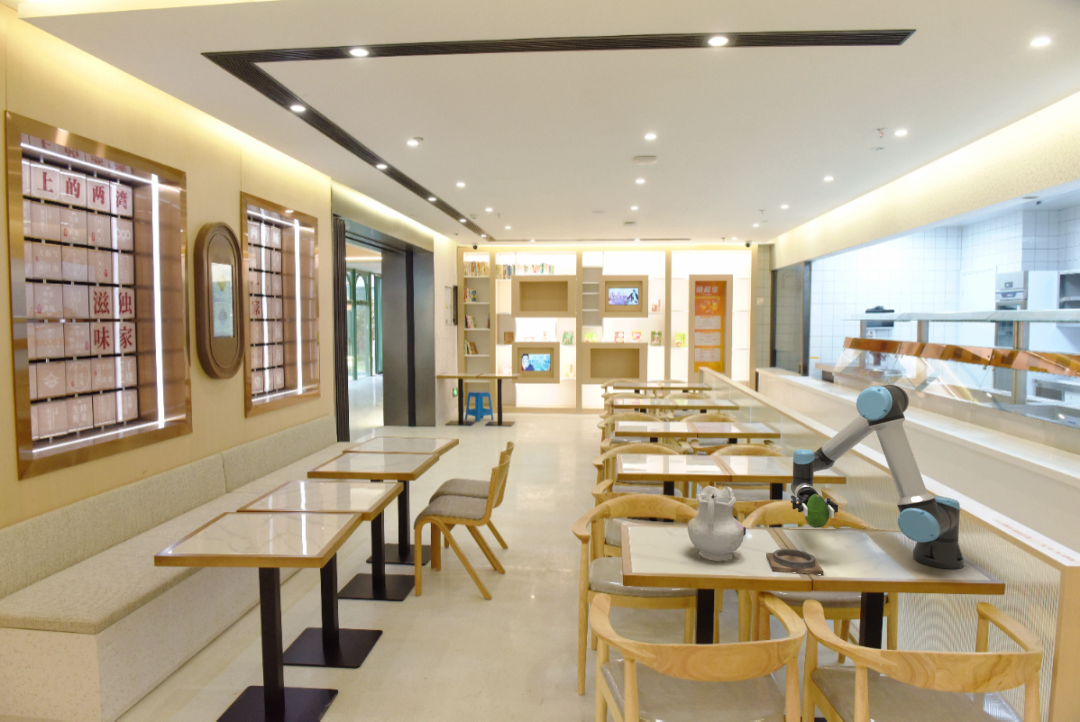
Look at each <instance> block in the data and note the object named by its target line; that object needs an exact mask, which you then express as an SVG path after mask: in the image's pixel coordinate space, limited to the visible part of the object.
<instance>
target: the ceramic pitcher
mask: <svg viewBox="0 0 1080 722" xmlns="http://www.w3.org/2000/svg"><path fill="white" fill-rule="evenodd" d="M695 498H696V500H697V503H698V506H699V507H698V508H699V511H698V513H697V515H695V516H693V517H692V518H691V519H690V520H689V521H688V524H687V533H688V538H689V540H690V542H691V543H692V545H693V546H694V547H695V548H697V549H698V550H699V552H698V553H697V555H699V556H701V557H702V558H703V559H705V560H706V561H713V562H725V561H731V559H733V555H732V553H734V552H735V551H737V550H738V549H739V548H740V546H741V545H742V543H743V541H744V537H745V535H744V529H743V526H744V525H742V523H741V522H740V521H739V520H737V518H735V517H734V516H733V510H734V506H735V504H736V502H737V498H736V497H735V493H734V489H733V488H732V487H731V486H727V485H725V486H724V488H723V489H719V488H718V487H716V486H712V485H706V486H705V487H704V488H703V489H702V490H701V491H700V493H696V495H695Z"/></svg>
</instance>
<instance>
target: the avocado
mask: <svg viewBox="0 0 1080 722" xmlns="http://www.w3.org/2000/svg"><path fill="white" fill-rule="evenodd" d="M818 494H819V493H818ZM818 494H813V495H812V496H811V497H810V498H809V500H808V503H807V505H806V507H807V508H808V516H805V515H804V518H805V520H806V524H807V525H808V526H810V527H812V528H814V529H816V528H823V527H824V526H826V525H827V523H828V521H829V518H830V515H829V510H828V507H827V505H826V502H825V499H824V498H823V496H822V495H821V494H819V495H818Z"/></svg>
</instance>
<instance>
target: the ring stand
mask: <svg viewBox="0 0 1080 722" xmlns="http://www.w3.org/2000/svg"><path fill="white" fill-rule="evenodd" d="M765 554H766V561H768V564H769V566H770V569H771V570H772V571H771V572H774V573H775V572H777V573H787V572H796V573H795V574H799V573H806V574H805V575H811V574H821V575H820V576H824V573H825V572H824V570H823V568H822V567H821V565H820V564H819V562H818V560H817V559H816V557H815V555H813V554H811V553H809V552H807V551H803V550H799V549H792V548H781V549H777V550H775V551H773V552H766V553H765Z"/></svg>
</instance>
